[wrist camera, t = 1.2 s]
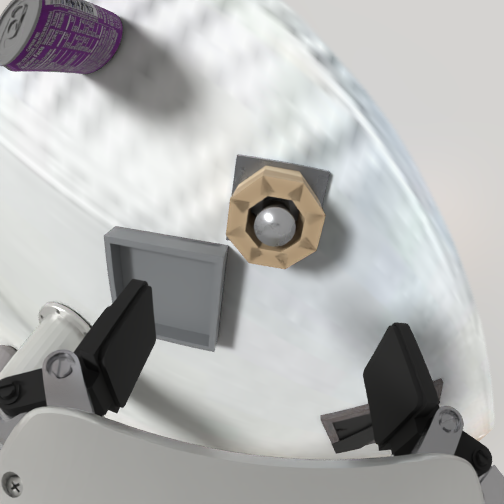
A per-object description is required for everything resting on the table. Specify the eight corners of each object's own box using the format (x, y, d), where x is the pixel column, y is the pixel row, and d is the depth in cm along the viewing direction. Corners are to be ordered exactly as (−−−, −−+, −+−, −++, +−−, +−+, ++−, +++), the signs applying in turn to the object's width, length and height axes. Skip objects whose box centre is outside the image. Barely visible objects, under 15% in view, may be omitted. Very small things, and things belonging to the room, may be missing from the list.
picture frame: (335, 445, 47) (431, 417, 41) (336, 453, 45) (434, 424, 40) (320, 412, 40) (440, 376, 35) (320, 422, 39) (443, 384, 34)
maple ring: (306, 248, 27) (310, 273, 23) (232, 235, 27) (223, 258, 23) (323, 176, 23) (331, 188, 19) (242, 161, 23) (233, 171, 19)
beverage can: (82, 16, 17) (2, -3, 7) (135, 10, 18) (57, -27, 7) (65, 74, 20) (-21, 77, 10) (115, 74, 21) (25, 67, 10)
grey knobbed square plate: (309, 252, 27) (315, 283, 22) (227, 237, 27) (215, 265, 22) (328, 170, 24) (341, 185, 19) (237, 154, 24) (226, 164, 19)
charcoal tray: (218, 337, 33) (214, 351, 31) (125, 315, 34) (117, 327, 31) (228, 245, 28) (223, 257, 25) (115, 226, 28) (103, 235, 26)
